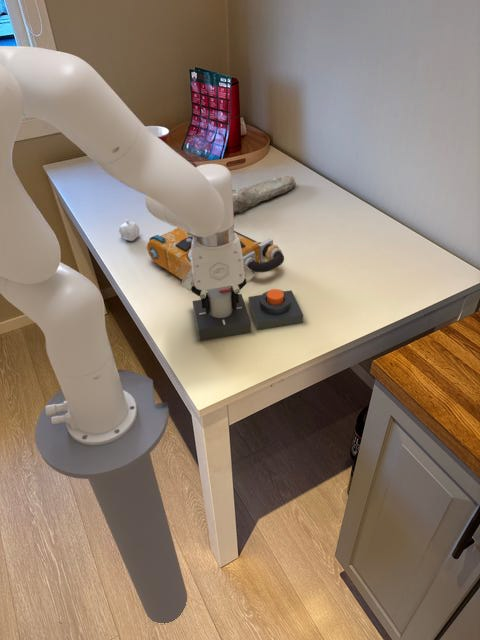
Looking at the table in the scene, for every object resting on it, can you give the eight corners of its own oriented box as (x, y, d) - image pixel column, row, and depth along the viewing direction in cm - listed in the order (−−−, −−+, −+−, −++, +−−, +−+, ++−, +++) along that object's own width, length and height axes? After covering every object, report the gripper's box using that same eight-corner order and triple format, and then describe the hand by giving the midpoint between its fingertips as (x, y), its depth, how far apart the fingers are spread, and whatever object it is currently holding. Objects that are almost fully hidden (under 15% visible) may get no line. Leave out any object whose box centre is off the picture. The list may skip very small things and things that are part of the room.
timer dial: (210, 319, 101) (208, 299, 98) (207, 305, 105) (205, 285, 102) (234, 316, 102) (233, 296, 99) (230, 302, 106) (228, 282, 102)
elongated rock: (303, 193, 155) (282, 185, 161) (304, 177, 152) (282, 169, 158) (214, 224, 137) (195, 213, 144) (213, 206, 134) (193, 196, 141)
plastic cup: (174, 167, 171) (169, 133, 163) (143, 171, 170) (137, 136, 162) (171, 156, 179) (167, 123, 171) (142, 159, 178) (136, 126, 170)
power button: (269, 306, 103) (269, 300, 102) (265, 296, 106) (265, 290, 105) (285, 304, 104) (285, 297, 102) (281, 294, 106) (281, 288, 105)
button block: (257, 329, 103) (257, 315, 100) (248, 304, 110) (248, 290, 107) (302, 322, 104) (303, 308, 102) (291, 297, 111) (291, 283, 108)
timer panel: (199, 340, 101) (198, 329, 99) (193, 311, 109) (192, 300, 107) (251, 332, 102) (250, 321, 100) (241, 304, 110) (241, 292, 108)
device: (208, 203, 131) (292, 241, 114) (211, 230, 136) (291, 270, 119) (140, 234, 119) (222, 282, 102) (145, 262, 125) (224, 312, 108)
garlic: (122, 233, 137) (118, 216, 133) (141, 231, 137) (138, 215, 134) (120, 244, 132) (116, 227, 129) (140, 242, 132) (136, 225, 129)
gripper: (171, 248, 87) (182, 325, 99) (263, 236, 90) (263, 312, 101) (167, 228, 93) (178, 303, 105) (254, 217, 95) (255, 291, 107)
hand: (220, 306), depth 103 cm, fingers closed on timer dial, 5 cm apart
